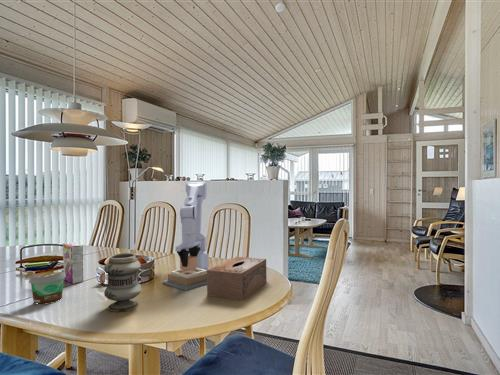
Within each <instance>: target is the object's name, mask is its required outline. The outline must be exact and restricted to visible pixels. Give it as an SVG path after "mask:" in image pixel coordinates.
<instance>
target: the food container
mask: <svg viewBox="0 0 500 375" xmlns="http://www.w3.org/2000/svg"><path fill="white" fill-rule="evenodd" d="M65 277H66V275H65V272H64V269H61V271H59V272H57V273H50V274H45V275H42V276H30V278H29V281H28V283H29V284H30V286H31V292H32V301H33V304H34V303H38V304H37V305H39V304H40V305H46V304H45V303H49V304H52V303H51V302H54V303H56V301H57V302H59V301H61V300H62V299H63V292H64V281H65V280H64V278H65ZM61 298H62V299H61ZM60 299H61V300H60ZM58 300H59V301H58Z"/></svg>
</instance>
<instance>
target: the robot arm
mask: <svg viewBox="0 0 500 375" xmlns="http://www.w3.org/2000/svg"><path fill="white" fill-rule="evenodd" d="M207 186H208V184H207V182H206V181H187V182H186V183H185V192H186V195H187V196H186V198H185V199H184V203H183V205H182V207H180V208H179V209H180V210H179V216H180V224H181V243H180V244H178V245H177V246H176V245H175V252H176V253H177V255H178V257H179V260H180V259H181V263H182V266H183V267H187V264H188V256H197V268H199V269H204V270H208V269H210V268H211V267H210V265H209V264H210V263H209V262H210V260H209V254H208V252H207V246H208V244H207V236H206V235H205V234H204V233H203V232H202V213H203V212H202V209H203V207H202V205H203V202H204V200H206V199H207V195H208V194H207V190H208V188H207Z"/></svg>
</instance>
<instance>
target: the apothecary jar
mask: <svg viewBox="0 0 500 375" xmlns="http://www.w3.org/2000/svg"><path fill="white" fill-rule="evenodd" d="M141 267H142V266H141V262H140V261H139V260H138V259H137V257H136V254H135V253H132V252H121V253H116V254H112V255H110V256H109V259H108V262H107V263H106V264H105V265H104V271H105V272H106V273H108V284H107V286H106V288H105V289H104V292H103V293H104V296H105V298H106V299H108V300H111V301H114V302H112V303H111V304H109V305H108V306H107V310H108V311H110V312H114V313H119V312H128V311H132V310H133V309H136V308H137V307H138V306H139V303H138V301H135V300H133V299H135V298H136V297H138V296H139V295H140V293H141V292H142V285H141V284H140V283H139V282H138V271H139V270H140V269H141Z"/></svg>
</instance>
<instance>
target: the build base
mask: <svg viewBox="0 0 500 375" xmlns="http://www.w3.org/2000/svg"><path fill="white" fill-rule="evenodd" d="M162 284H164V285H168V286H170V287H174V288H176V289H180V290H182V291H183V290H184V291H189V290H193V289H196V288H199V287H202V286H207V270H204V269H199V268H195V269H192V270H182V269H180V268H179V269H175V270H171V271H170V272H168V273H167V279H165V280H162Z"/></svg>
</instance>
